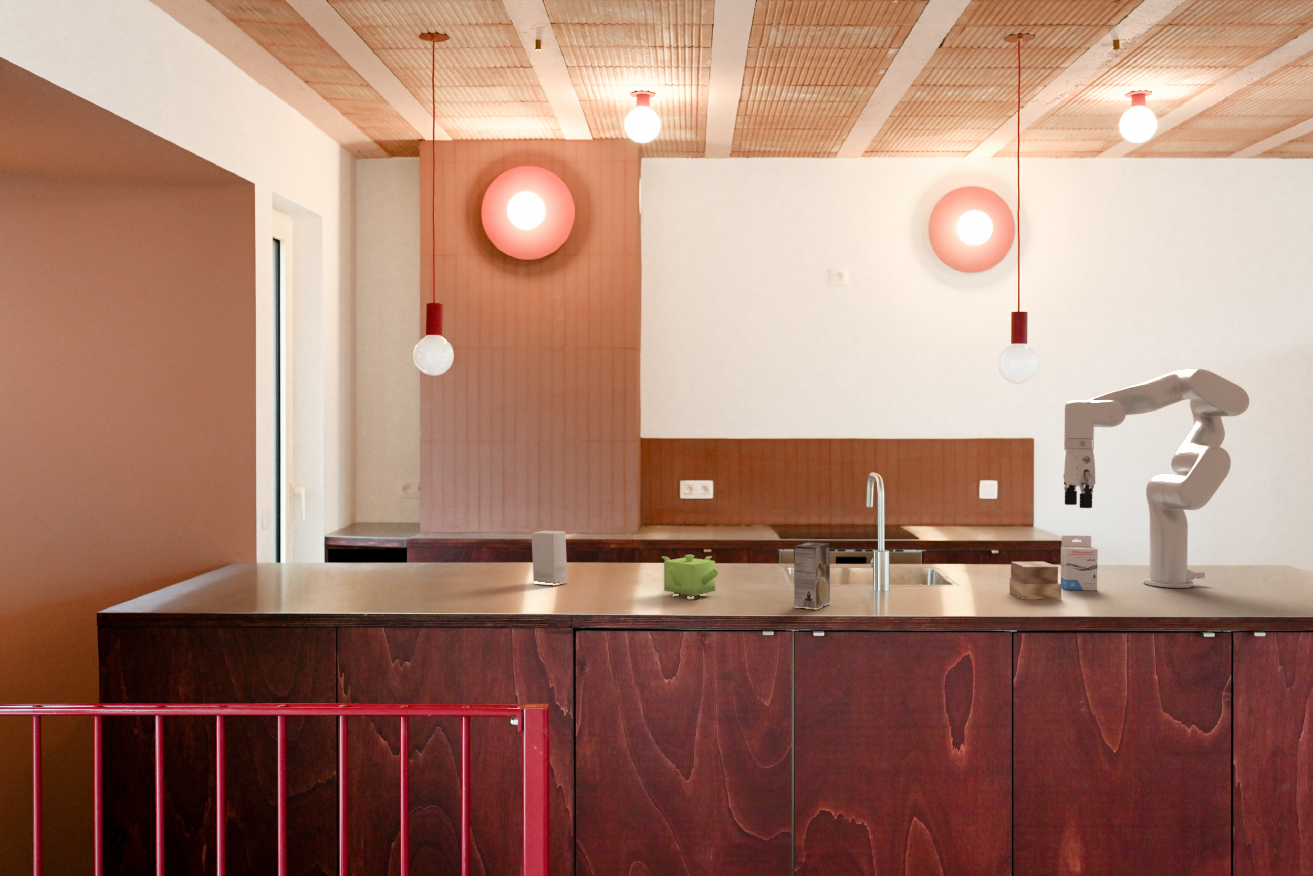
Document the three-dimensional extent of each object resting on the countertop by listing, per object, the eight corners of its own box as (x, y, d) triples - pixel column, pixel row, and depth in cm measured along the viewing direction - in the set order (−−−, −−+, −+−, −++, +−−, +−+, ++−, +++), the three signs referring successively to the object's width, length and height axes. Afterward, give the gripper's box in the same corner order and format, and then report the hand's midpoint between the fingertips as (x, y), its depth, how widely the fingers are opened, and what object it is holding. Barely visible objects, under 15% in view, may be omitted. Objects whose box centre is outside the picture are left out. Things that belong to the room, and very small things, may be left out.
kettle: (661, 591, 265) (661, 551, 265) (711, 590, 266) (711, 550, 266) (665, 601, 250) (665, 559, 250) (718, 600, 251) (718, 558, 251)
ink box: (1065, 590, 262) (1066, 537, 261) (1060, 587, 267) (1060, 535, 266) (1098, 591, 261) (1098, 537, 261) (1091, 587, 266) (1091, 535, 266)
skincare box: (567, 583, 278) (567, 531, 277) (553, 587, 272) (553, 533, 272) (545, 581, 282) (545, 529, 282) (531, 584, 277) (530, 531, 276)
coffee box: (807, 602, 248) (807, 541, 247) (830, 604, 244) (830, 543, 244) (793, 608, 240) (793, 545, 239) (817, 611, 236) (816, 547, 236)
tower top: (1043, 577, 258) (1043, 561, 258) (1057, 583, 249) (1057, 566, 249) (1010, 578, 258) (1011, 561, 258) (1024, 584, 249) (1024, 567, 249)
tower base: (1046, 593, 259) (1046, 577, 259) (1061, 601, 249) (1061, 584, 249) (1009, 594, 259) (1009, 577, 259) (1023, 601, 249) (1023, 584, 249)
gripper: (1106, 446, 254) (1105, 509, 255) (1079, 444, 272) (1078, 503, 272) (1078, 445, 254) (1077, 509, 255) (1052, 444, 272) (1052, 503, 272)
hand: (1078, 506), depth 263 cm, fingers open, 9 cm apart
